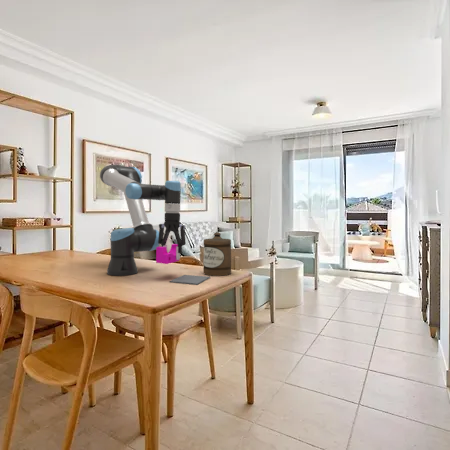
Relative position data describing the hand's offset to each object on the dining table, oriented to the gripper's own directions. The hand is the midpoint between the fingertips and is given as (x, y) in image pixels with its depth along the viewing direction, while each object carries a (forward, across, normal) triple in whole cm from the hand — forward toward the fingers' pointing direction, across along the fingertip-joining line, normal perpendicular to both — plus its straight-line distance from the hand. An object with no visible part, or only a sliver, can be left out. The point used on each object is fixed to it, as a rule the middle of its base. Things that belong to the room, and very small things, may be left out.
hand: (171, 258), depth 162 cm
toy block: (+1, 0, -1) cm, 1 cm away
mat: (+9, +12, -2) cm, 15 cm away
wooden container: (+9, +18, +19) cm, 27 cm away
